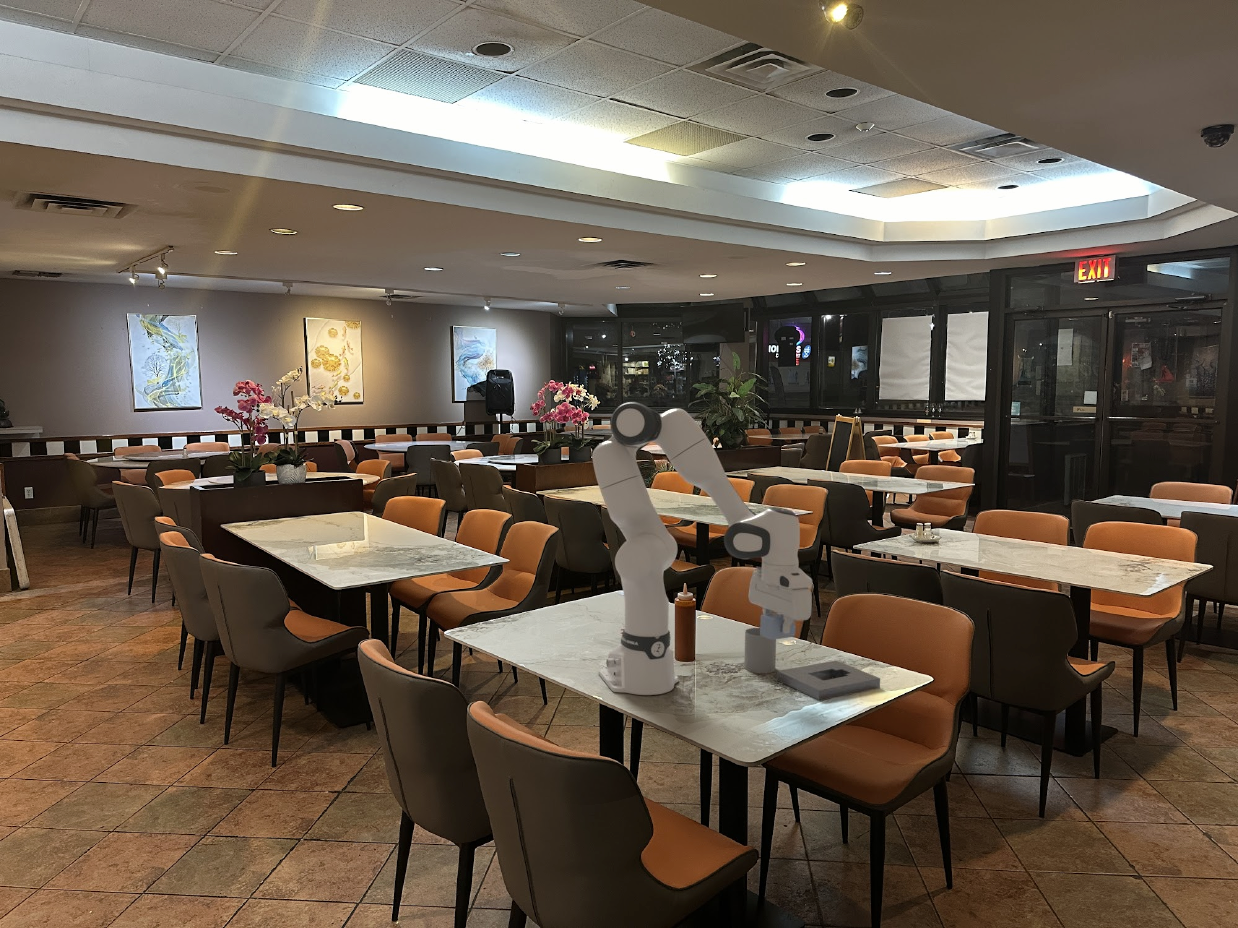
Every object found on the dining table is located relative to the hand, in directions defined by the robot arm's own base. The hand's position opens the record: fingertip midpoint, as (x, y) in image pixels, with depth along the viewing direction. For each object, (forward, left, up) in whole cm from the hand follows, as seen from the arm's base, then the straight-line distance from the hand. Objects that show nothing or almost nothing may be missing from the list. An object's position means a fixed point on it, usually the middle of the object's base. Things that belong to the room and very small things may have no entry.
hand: (777, 629), depth 199 cm
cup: (-18, +9, -17) cm, 26 cm away
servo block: (0, 0, -2) cm, 2 cm away
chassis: (0, +17, -16) cm, 23 cm away
